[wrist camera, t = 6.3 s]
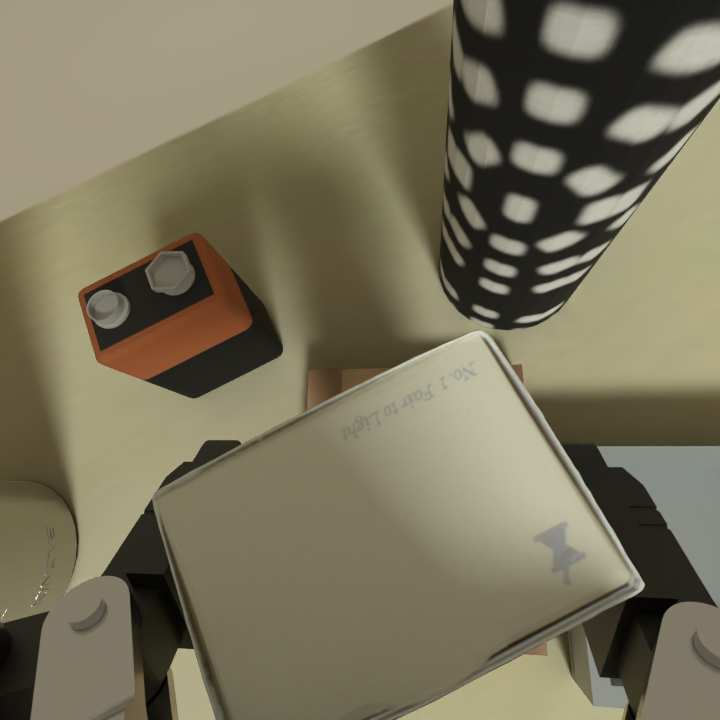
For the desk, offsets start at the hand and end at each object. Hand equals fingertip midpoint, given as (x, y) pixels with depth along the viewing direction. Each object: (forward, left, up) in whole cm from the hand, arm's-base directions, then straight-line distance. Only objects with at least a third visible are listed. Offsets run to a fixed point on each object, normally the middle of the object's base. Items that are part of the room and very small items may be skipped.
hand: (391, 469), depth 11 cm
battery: (-12, +8, -16) cm, 22 cm away
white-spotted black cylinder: (+6, +13, -16) cm, 22 cm away
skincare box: (0, -1, -8) cm, 8 cm away
